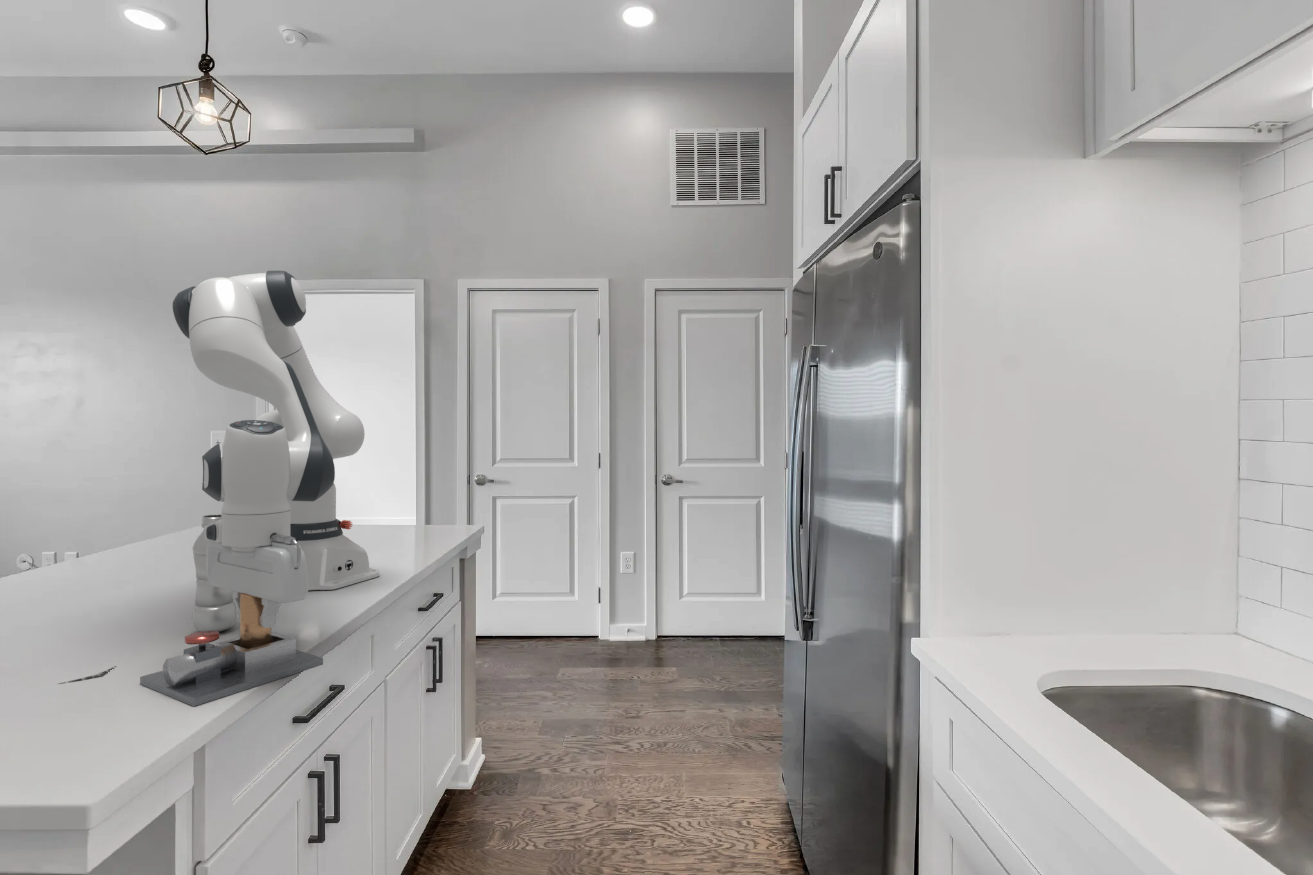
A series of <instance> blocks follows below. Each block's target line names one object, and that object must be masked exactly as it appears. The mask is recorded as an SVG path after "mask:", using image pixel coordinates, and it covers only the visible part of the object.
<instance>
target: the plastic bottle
mask: <svg viewBox="0 0 1313 875" xmlns="http://www.w3.org/2000/svg"><path fill="white" fill-rule="evenodd" d="M221 514H222V513H221ZM221 514H219V513H218V514H207V515H203V516H202V520H201V521H202V522H201V528H203V530H202V532H200V534H199V535H198V536H197V538H196V540H195V541H194V543H193V545H192V554H193V561H194V566H195V579H196V590H195V591H196V592H195V600H194V606H193V610H192V616H191V622H192V626H193V628H194V629H195V631H197V632H203V631H217V632H219V633H220V632H222V631H225V630H228V629H231V628H232V627H233V626H234V624H235V622H236V619H237V608H236V605H235V603H234V600H233V597H232V591H231V590H227V589H223V588H219V587H215V586H212V585H211V584H210V582H209V580H208V577H207V568H206V547H207V544H208V542H209V540H206V539H205V538H204V528H205V526H207V525H209V524H211V523H214V522H216V521H218V520H220V519H222V517H221Z"/></svg>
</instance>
